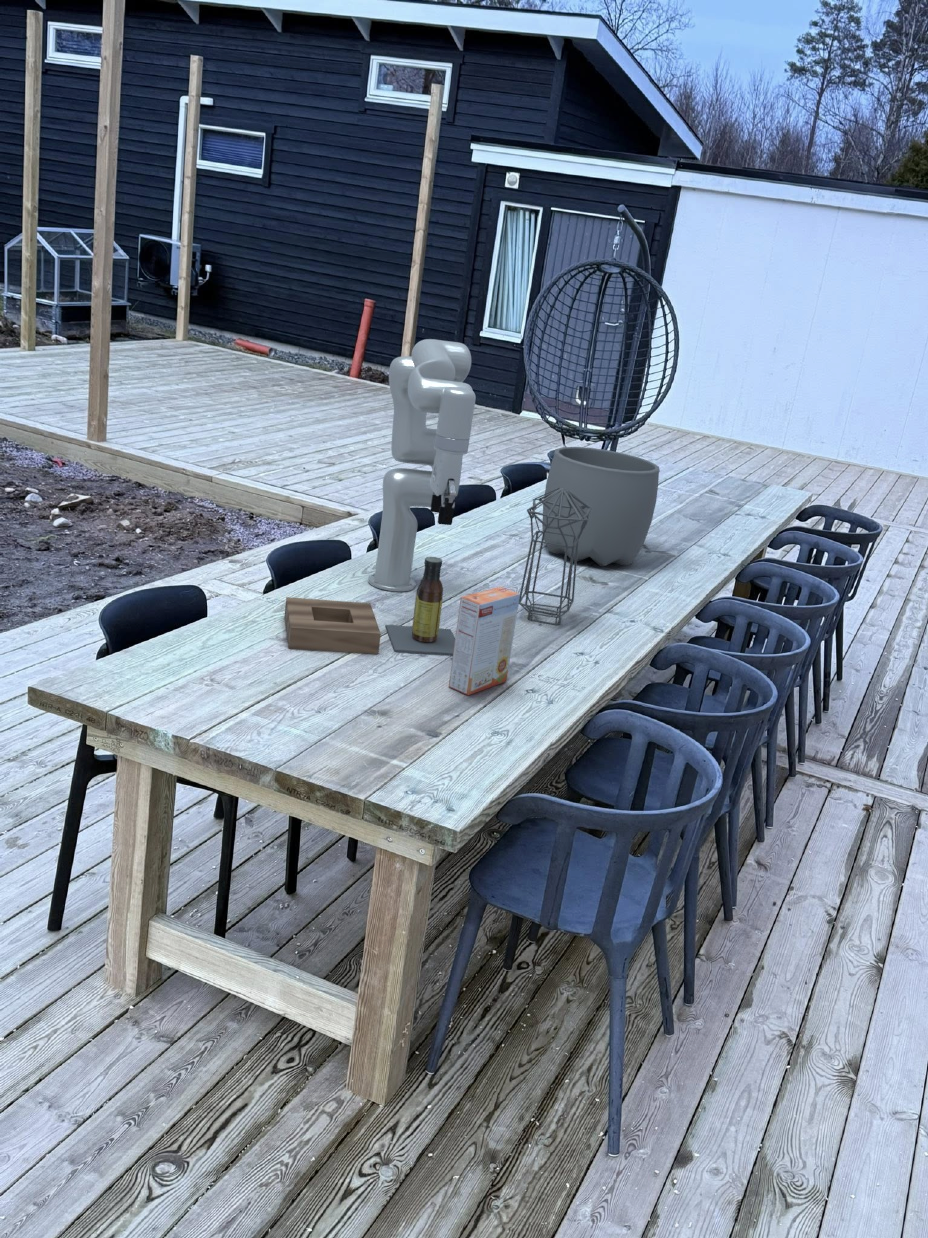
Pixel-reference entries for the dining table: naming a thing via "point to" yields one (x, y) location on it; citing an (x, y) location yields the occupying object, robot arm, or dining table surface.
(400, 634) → the rubber mat
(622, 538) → the planter pot
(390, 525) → the robot arm
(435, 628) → the sauce bottle
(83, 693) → the dining table surface
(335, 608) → the holder block
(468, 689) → the cracker box
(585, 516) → the geometric lantern
